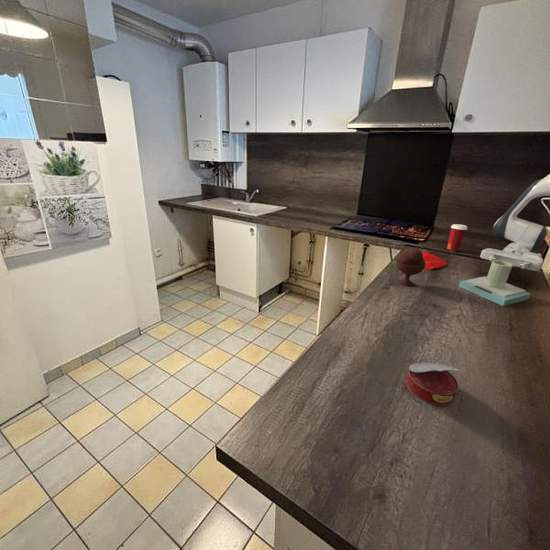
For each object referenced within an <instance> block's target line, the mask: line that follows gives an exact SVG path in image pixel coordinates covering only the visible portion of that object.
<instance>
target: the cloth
mask: <svg viewBox="0 0 550 550" xmlns="http://www.w3.org/2000/svg"><path fill="white" fill-rule="evenodd" d="M422 253H423V258H424V261H425V263H426V265H425V268H424V270H431V271H432V270H436V269H439V268H443V267H446V266H448V262H447V261H445V260H444V259H441V258H440V257H439V256H436V255H434V254H431V252H429V251H423V252H422Z"/></svg>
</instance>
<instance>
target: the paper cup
mask: <svg viewBox="0 0 550 550" xmlns="http://www.w3.org/2000/svg"><path fill="white" fill-rule="evenodd" d="M450 228H451V229H450V233H449V237H448V242H447V247H446V250H447V249H449V250H459V251H460V249H461V246H462V243H463V240H464V237H465V236H466V235H465V234H466V232H467V230H468V226H467V225H465V224H460V223H454V224H451V226H450Z"/></svg>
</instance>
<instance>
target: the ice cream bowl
mask: <svg viewBox="0 0 550 550" xmlns="http://www.w3.org/2000/svg"><path fill="white" fill-rule="evenodd" d="M395 265H396V268H397V269H398V270H399V271H400V272H401V273H402V274H404V278H402V279H399V281H398V284H399V285H400V286H404V287H413V286H414V282H413V281H411V280H410V277H411V276H414V275H418V274H420V273H422V272H423V271H424V270H425V265H426V263H425V261H424V258H423V252H422V251H421V249H419V248H411V249H410V250H406V251H402V252H401V253H400V254H399V255H398V257H397V258H396V259H395Z"/></svg>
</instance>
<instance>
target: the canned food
mask: <svg viewBox="0 0 550 550" xmlns="http://www.w3.org/2000/svg"><path fill="white" fill-rule="evenodd" d="M459 371H460V369H458V368H456V367H452V366H450V365H445V364H441V363H433V362H423V361H422V362H421V361H420V362H415V363H412V364H410V365H409V367H408V372H407V374H406V375H407V376H406V378H405V383H406V386H407V388H408V389H409V391H410V392H411V393H412V394H413V395H414V396H415V397H417V398H418V399H420V400H422V401H424V402H426V403H428V404H431V405H436V406H447V405H449V404H451V403H453V402H454V400H455V398H456V395H457V392H458V390H459V383H458V381H457V379H456V377H455V376H454V375H453V374H452V373H451V372H459Z"/></svg>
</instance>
